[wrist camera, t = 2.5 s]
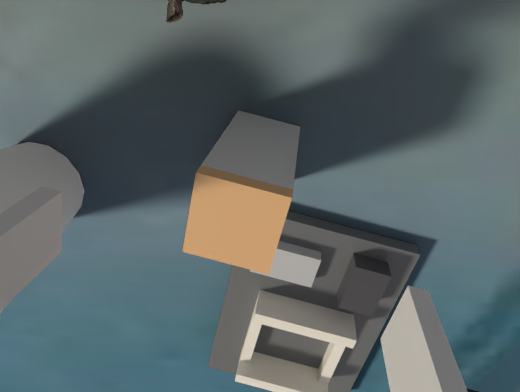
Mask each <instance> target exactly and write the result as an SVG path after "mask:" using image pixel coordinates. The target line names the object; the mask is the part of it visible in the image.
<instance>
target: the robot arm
mask: <svg viewBox="0 0 520 392" xmlns="http://www.w3.org/2000/svg"><path fill="white" fill-rule="evenodd" d="M61 252H62V192H61V191H58V190H54V189H50V188H47V187H43V186H42V187H40V188H39V189H37V190H35V191H34V192H32V193H31V194H29V195H28V196H26V197H25V198H23V199H22V200H20V201H19V202H17V203H16V204H14V205H13V206H11V207H10V208H8V209H7V210H5V211H4V212H2V213H0V311H1V310H2V309H3V308H4V307H5V306H6V305H7V304H8V303H9V302H10V301H11V300H12V299H13V298H14V297H15V296H16V295H17V294H18V293H19V292H20V291H21V290H23V289H24V288H25V287H26V286H27V285H28V284H29V283H30V282H31V281H32V280H33V279H34V278H35V277H36V276H37V275H38V274H39V273H40V272H41V271H42V270H43V269H44V268H45V267H46V266H47V265H48V264H49V263H51V262H52V261H53V260H54V259H55V258H56V257H57V256H58V255H59V254H60V253H61ZM381 344H382V349H383V355H384V360H385V365H386V371H387V376H388V381H389V387H390V392H478V391H474V390H470V389H467V388H466V386H465V384H464V381H463V379H462V376H461V373H460V371H459V368H458V366H457V363H456V361H455V358H454V355H453V353H452V350H451V348H450V345H449V343H448V340H447V337H446V335H445V332H444V330H443V327H442V325H441V322H440V319H439V317H438V314H437V312H436V309H435V307H434V304H433V301H432V299H431V296H430V294H429V291H427V290H423V289H419V288H416V287H412V286H407V288H406V290H405V292H404V294H403V296H402V298H401V300H400V302H399V304H398V306H397V308H396V310H395V311H394V313H393V315H392V317H391V319H390V321H389V323H388V325H387V327H386V329H385V331H384V333H383V335H382V337H381Z"/></svg>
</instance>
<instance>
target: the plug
mask: <svg viewBox="0 0 520 392" xmlns="http://www.w3.org/2000/svg"><path fill="white" fill-rule="evenodd" d="M299 134H300V126H296V125H292V124H288V123H285V122H281V121H277V120H273V119H269V118H266V117H262V116H258V115H254V114H250V113H247V112H243V111H238V112H237V113H236V115H235V116H234V118H233V119H232V121H231V122H230V124H229V125H228V127H227V128H226V129H225V131H224V132H223V134H222V135H221V137H220V138H219V140H218V141H217V143H216V144H215V145H214V147H213V148H212V150H211V151H210V153H209V154H208V156H207V157H206V159H205V160H204V161H203V163H202V164H201V166H200V167H199V169H198V170H197V172H196V175H195V181H194V186H193V192H192V198H191V204H190V210H189V216H188V222H187V228H186V234H185V240H184V246H183V252H186V253H190V254H193V255H197V256H201V257H205V258H208V259H212V260H216V261H220V262H223V263H227V264H231V265H235V266H238V267H242V268H246V269H250V270H253V271H257V272H261V273H265V274H268V275H269V272H270V269H271V265H272V262H273V259H274V256H275V252H276V249H277V246H278V242H279V239H280V236H281V233H282V229H283V226H284V223H285V220H286V216H287V213H288V210H289V206H290V203H291V200H292V194H293V186H294V177H295V168H296V160H297V151H298V143H299Z"/></svg>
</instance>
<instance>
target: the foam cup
mask: <svg viewBox="0 0 520 392" xmlns="http://www.w3.org/2000/svg"><path fill="white" fill-rule="evenodd" d="M42 186H43V187H47V188H50V189H54V190H58V191H61V192H62V232H63V231H64V229H65V228H66V227H67V225H68V224H69V223H70V221H71V220H72V219H73V217H74V216H75V215H76V214H77V212H78V210H79V209H80V208H81V206H82V201H83V196H84V188H83V184H82V181H81V178H80V174H79V173H78V171H77V170H76V169H75V167H74V166H73V165H72V164H71V162H70V161H69V160H68V158H67V157H66V156H64V155H62V154H61V153H59V152H58V151H56V150H55V149H53V148H51V147H50V146H48V145H43V144H38V143H33V142H26V143H22V144H18V145H15V146H11V147H8V148H4V149H1V150H0V213H2V212H4V211H5V210H7V209H8V208H10V207H11V206H13V205H14V204H16V203H17V202H19V201H20V200H22V199H23V198H25V197H26V196H28V195H29V194H31V193H32V192H34V191H35V190H37V189H39V188H40V187H42ZM5 307H6V306H5ZM5 307H4V308H5ZM4 308H3V309H4ZM3 309H2V310H1V311H0V314H1V312H2V311H3Z"/></svg>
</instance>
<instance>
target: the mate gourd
mask: <svg viewBox="0 0 520 392" xmlns="http://www.w3.org/2000/svg"><path fill="white" fill-rule="evenodd" d="M168 1H169V3H168V6H167V20H166V22H169V23H171V22H174V21H178V20H179V19H181V18H182V16H183V10H182V1H184V0H168ZM185 1H188V2H191V3H199V4H209V3H217V2H220V3H223V2H225V1H226V0H185Z"/></svg>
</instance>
